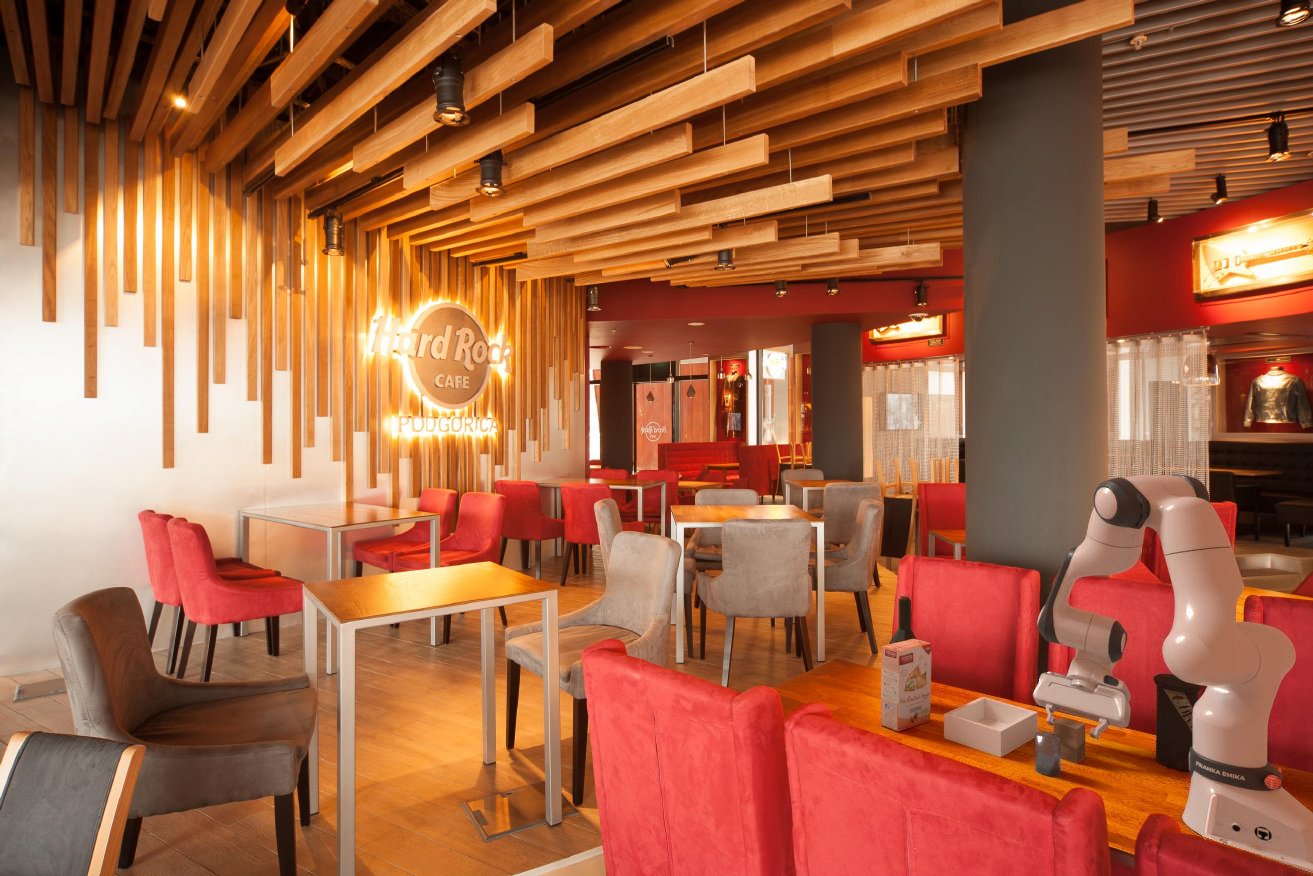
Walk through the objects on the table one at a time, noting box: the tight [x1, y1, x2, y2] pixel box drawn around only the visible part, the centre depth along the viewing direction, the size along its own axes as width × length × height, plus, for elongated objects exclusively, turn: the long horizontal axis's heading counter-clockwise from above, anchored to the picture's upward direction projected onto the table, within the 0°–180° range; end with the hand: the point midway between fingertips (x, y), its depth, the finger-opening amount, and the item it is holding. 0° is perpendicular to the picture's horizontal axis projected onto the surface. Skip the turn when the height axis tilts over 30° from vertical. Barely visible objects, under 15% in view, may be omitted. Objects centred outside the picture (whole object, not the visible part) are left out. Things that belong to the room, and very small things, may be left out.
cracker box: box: [880, 638, 932, 733], centre depth 186 cm, size 14×6×21 cm, turn 125°
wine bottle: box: [888, 595, 918, 645], centre depth 202 cm, size 8×8×30 cm
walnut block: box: [1053, 717, 1086, 765], centre depth 166 cm, size 5×5×8 cm
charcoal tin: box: [1034, 730, 1062, 778], centre depth 158 cm, size 5×5×8 cm
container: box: [1152, 673, 1203, 772], centre depth 163 cm, size 9×9×20 cm
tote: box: [943, 696, 1039, 758], centre depth 177 cm, size 14×20×6 cm
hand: (1071, 730), depth 167 cm, fingers open, 8 cm apart
